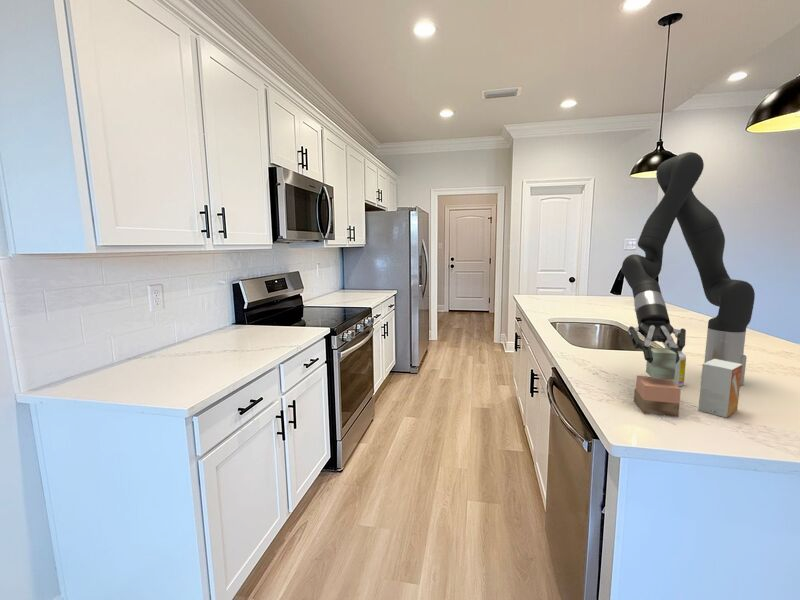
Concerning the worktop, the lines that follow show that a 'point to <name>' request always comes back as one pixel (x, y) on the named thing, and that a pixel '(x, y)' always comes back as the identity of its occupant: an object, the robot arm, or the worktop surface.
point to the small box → (720, 387)
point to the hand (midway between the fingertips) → (662, 362)
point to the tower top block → (658, 389)
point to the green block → (662, 364)
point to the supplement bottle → (680, 369)
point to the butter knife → (655, 415)
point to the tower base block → (656, 406)
